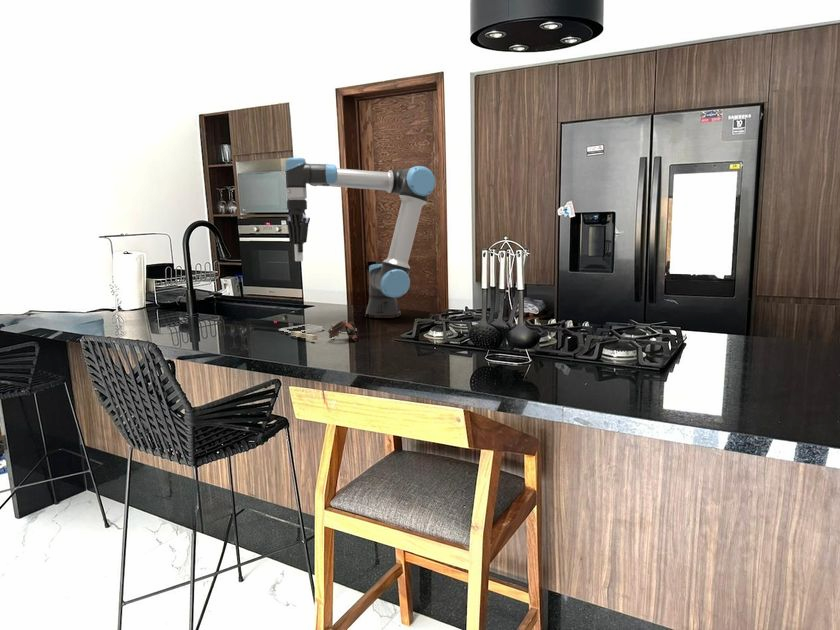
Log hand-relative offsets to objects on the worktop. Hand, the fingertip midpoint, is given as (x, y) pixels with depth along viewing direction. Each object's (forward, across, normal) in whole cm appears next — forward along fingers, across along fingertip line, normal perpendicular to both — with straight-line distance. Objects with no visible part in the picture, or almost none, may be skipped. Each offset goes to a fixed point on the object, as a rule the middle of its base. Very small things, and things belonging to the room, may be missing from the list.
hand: (299, 260), depth 241 cm
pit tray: (+26, +8, -5) cm, 28 cm away
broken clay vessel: (+27, +33, -5) cm, 42 cm away
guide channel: (+26, +21, -5) cm, 34 cm away
